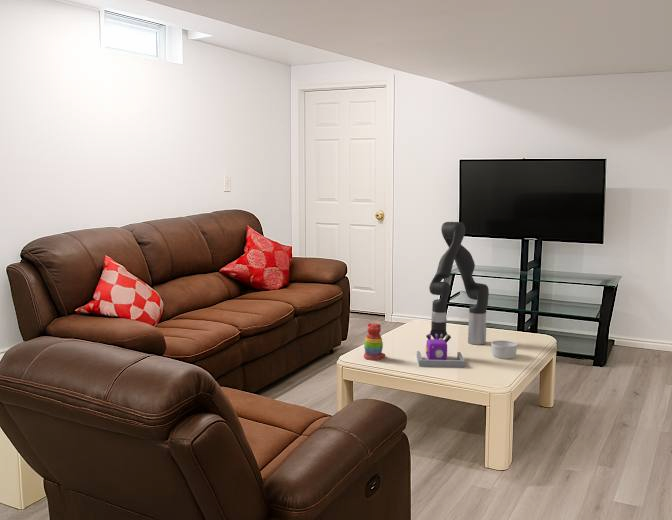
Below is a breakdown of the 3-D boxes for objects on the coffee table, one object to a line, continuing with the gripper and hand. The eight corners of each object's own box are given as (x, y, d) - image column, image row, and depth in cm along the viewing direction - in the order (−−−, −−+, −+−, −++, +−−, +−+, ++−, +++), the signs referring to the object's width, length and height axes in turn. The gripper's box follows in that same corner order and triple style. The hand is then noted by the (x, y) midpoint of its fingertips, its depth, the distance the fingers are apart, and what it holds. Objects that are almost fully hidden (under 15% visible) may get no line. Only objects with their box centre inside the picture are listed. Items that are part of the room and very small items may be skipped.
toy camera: (431, 364, 344) (432, 344, 343) (422, 356, 357) (422, 337, 356) (452, 363, 347) (453, 343, 345) (442, 355, 360) (442, 336, 358)
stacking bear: (386, 356, 358) (387, 322, 356) (381, 361, 349) (381, 326, 346) (366, 354, 362) (366, 320, 359) (360, 359, 352) (361, 324, 350)
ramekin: (499, 351, 369) (500, 338, 369) (522, 356, 360) (522, 343, 359) (485, 356, 360) (486, 343, 359) (508, 361, 351) (508, 347, 350)
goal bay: (460, 357, 356) (460, 352, 356) (464, 367, 340) (464, 361, 339) (416, 356, 357) (416, 351, 357) (419, 366, 341) (419, 360, 340)
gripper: (451, 318, 360) (450, 351, 363) (425, 318, 361) (424, 350, 363) (452, 322, 353) (451, 355, 355) (426, 321, 353) (425, 354, 356)
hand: (437, 353), depth 359 cm, fingers closed
